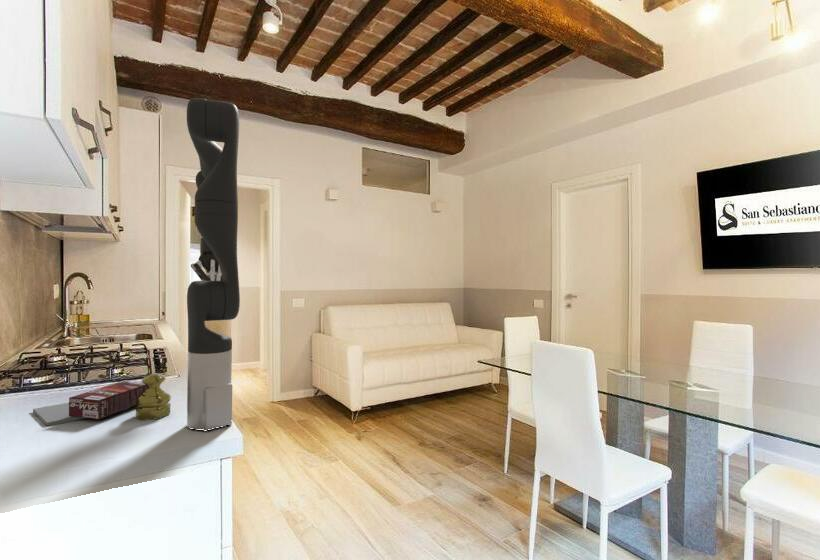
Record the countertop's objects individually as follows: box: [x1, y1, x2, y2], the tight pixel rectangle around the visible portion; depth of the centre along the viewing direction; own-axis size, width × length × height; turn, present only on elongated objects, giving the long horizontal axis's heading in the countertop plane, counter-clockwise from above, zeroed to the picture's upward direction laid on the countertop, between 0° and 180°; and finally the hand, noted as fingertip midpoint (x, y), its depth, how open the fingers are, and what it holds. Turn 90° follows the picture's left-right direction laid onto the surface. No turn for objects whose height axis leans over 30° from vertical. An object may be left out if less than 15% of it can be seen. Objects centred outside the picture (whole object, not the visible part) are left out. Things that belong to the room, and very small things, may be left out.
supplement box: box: [68, 380, 147, 420], centre depth 106 cm, size 9×5×16 cm
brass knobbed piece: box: [135, 373, 172, 420], centre depth 104 cm, size 7×7×10 cm
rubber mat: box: [32, 402, 129, 427], centre depth 106 cm, size 14×16×1 cm
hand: (213, 295), depth 127 cm, fingers closed
